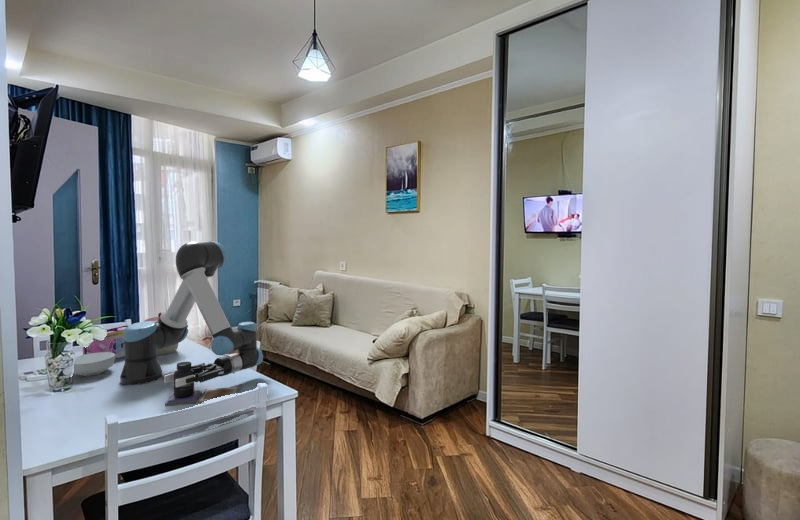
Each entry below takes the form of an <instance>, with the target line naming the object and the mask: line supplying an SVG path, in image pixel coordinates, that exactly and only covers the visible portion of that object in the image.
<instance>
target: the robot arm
mask: <svg viewBox="0 0 800 520" xmlns="http://www.w3.org/2000/svg"><path fill="white" fill-rule="evenodd" d="M227 260H228V253H227V249H226V247H225V246H224V245H223V244H222V243H220V242H217V241H212V240H211V241H210V240H209V241H189V242H186V243H184V244H182V245H180V247H179V249H178V250H177V251H176V254H175V267H176V270H177V273H178V275H179V278H180V279H181V280H182V281H181V283H180V285H179V287H178V289H177V291H176V293H175V295H174V297H173V298H172V301H171V303H170V305H169V306H168V308H167V310H166V311H163V312H164V313H162V314H161V316H160V317H159V319H158V321H157V322H156V323H155V322H153V321H145V320H143V321H141V322H140V321H139V322H135V323H132V324H129V325H127V326H128V327H126V329H125V331H124V350H125V356H124V365H123V366H122V370H121V374H120V376H119V377H120V378H119V379H120V381H119V383H120V384H123V385H128V386H129V385H131V386H133V385H136V386H137V385H143V384H149V383H152V382H156V381H157V380H160V379H162V377H163V379H164V380H163V383H164V384H167V383H171V382H174V373H175V372H172V373H169V374H166V375H164V376H163V368H162V367H161V364H160V361H159V359H158V355H157V350H158V349H161V348H165V347H168V346H171V345H175V344H177V343H178V344H179V343H182V342H183V341H184V340H185V339H186V338H187V337H188V334H189V329H188V328H189V325H188V320H187V319H188V316H189V315H190V313H191V310H192V308H193V307H194V305H195V304H196V305H197V308H198V309H199V311H200V314H201V315H202V318H203V320H204V322H205V324H206V326H207V328H208V331H209V332H210V334H211V336H212V338H213V339H212V340H211V342H210V349H211V351H212V353H213V354H215V355H217V356H219V357H217V358H216V359H215V360H214V361H213V363H212V362H211V363H207V364H206V363H205V362H202V363H199V364H196V365H191V366H192V367H191V369H192V370H194V375H190V376H186V377H183V378H179V379H176V380H175V387H180V386H183V385H186V384H190V383H193V382H194V383H198V382H199V383H200V384H201V383H204V382H207V381H211V380H213V379H216V378H219V377H225V376H228V375H230V374H236V372H241V371H243V370H246V369H250V368H254V367H257V366H259V365H261V364H262V363H263V360H264V354H263V351H262V349H260V348H259V347H257V345H258V344H257V340H258V339H257V338H258V337H257V335H258V331H257V324H256V322H253V321H243V322H239V323H238V325H237V327H236V328H237V329H236V330H233V329H232V327H231V324H230V322H229V320H228V318H227V317H226V314H225V311H224V310H223V308H222V306H221V304H220V302H219V300H218V298H217V295H216V293H215V291H214V289H213V287H212V286H211V283H210V281H209V278H211V277H213V276H214V275H215V273H216V272H217V270H218V269H220V268H222V267H225V265H226V263H227ZM235 351H238V352H235ZM233 352H235V353H233ZM220 356H221V357H220Z"/></svg>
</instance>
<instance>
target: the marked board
mask: <svg viewBox="0 0 800 520" xmlns="http://www.w3.org/2000/svg"><path fill="white" fill-rule="evenodd" d="M239 391H240V386H232V387H231V386H230V387H219V388H205V390H204V391H203V392H202V395H201V396H200V397H199V399H198V400H197V402H196V403H197V404H198V403H201V404H203V403H202V402H204V401H207V400H210V399H213V398H217V397H221V396H225V395H230V394H235V393H237V394H238V393H239ZM198 405H199V404H198Z"/></svg>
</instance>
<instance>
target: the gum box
mask: <svg viewBox="0 0 800 520" xmlns="http://www.w3.org/2000/svg"><path fill="white" fill-rule="evenodd" d="M128 326H129V325H122V326H117V327H113V328H109V329H106V330H107V332H108V333H107V336H106V338H105V339H104V340H103V341H98V340H94V341H93V342H92V343H91V344H90V345H89V346H88V347H86V348H85V347H83V346H82V355H85V354H91V353H100V352H110V353H114V354H115V359H118V358H122V357H125V350H124V331H125V329H126V327H128Z"/></svg>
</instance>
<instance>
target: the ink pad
mask: <svg viewBox="0 0 800 520" xmlns="http://www.w3.org/2000/svg"><path fill="white" fill-rule="evenodd" d="M202 394H203V390H200V389H197V390H196V389H194V394H193V395H192V396H190V397H186V398H176V397H174V392H173V393H172V394H171V395H170V397H169V398H168V399H167V400H166V401H165V403H164V406H165V407H166V406H179V405H180V406H181V405H195V404H196V403H197V401H198V400H199V399H200V397H201V396H202Z"/></svg>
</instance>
